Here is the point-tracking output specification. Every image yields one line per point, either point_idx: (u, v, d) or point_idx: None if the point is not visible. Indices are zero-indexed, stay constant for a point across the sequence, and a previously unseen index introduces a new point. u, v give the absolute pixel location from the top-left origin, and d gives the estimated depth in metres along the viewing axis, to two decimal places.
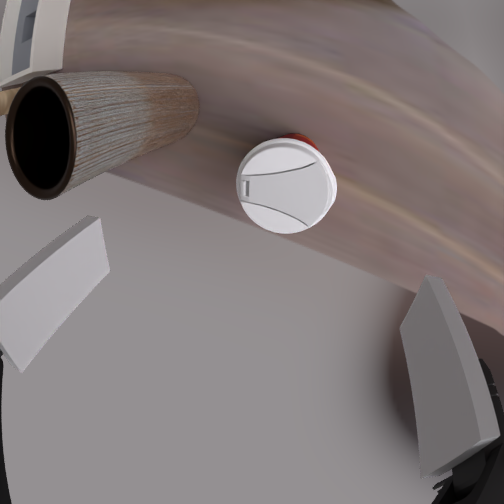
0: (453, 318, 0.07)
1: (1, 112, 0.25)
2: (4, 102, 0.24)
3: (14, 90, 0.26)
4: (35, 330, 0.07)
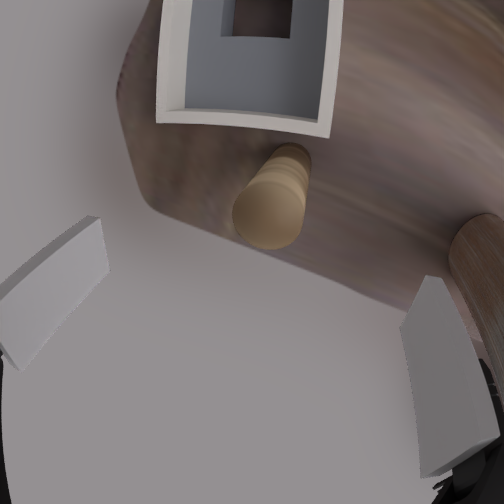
0: (453, 318, 0.07)
1: None
2: None
3: (299, 174, 0.19)
4: (35, 330, 0.07)
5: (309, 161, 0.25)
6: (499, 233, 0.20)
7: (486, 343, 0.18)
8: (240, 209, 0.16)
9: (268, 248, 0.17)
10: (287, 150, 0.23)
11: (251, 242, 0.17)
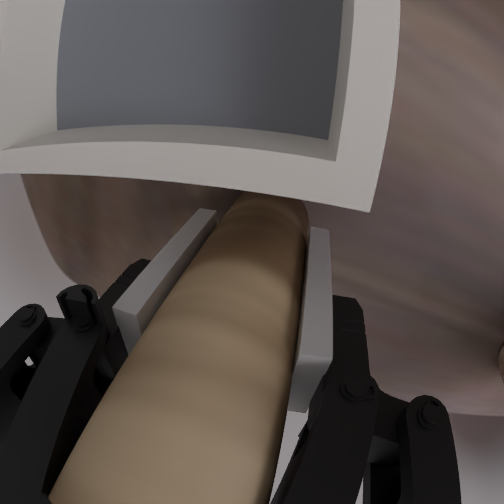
0: (319, 256, 0.09)
1: None
2: None
3: (265, 362, 0.05)
4: None
5: (304, 232, 0.12)
6: None
7: None
8: None
9: None
10: (251, 219, 0.10)
11: None
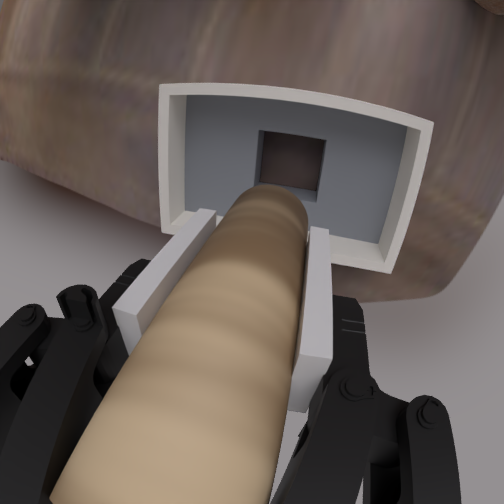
0: (319, 256, 0.09)
1: None
2: None
3: (264, 363, 0.05)
4: None
5: (304, 233, 0.12)
6: None
7: None
8: None
9: None
10: (251, 220, 0.10)
11: None
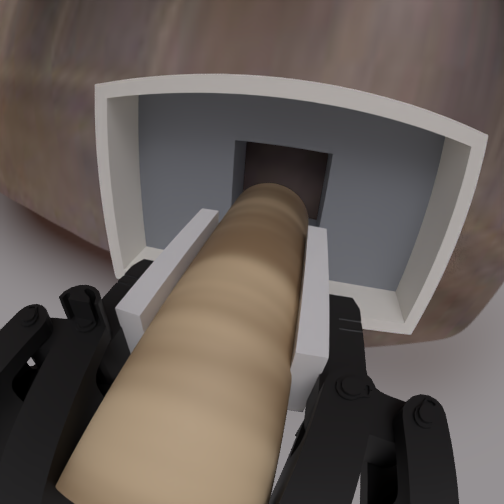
0: (316, 256, 0.09)
1: None
2: None
3: (267, 352, 0.06)
4: None
5: (304, 229, 0.12)
6: None
7: None
8: None
9: None
10: (253, 216, 0.10)
11: None
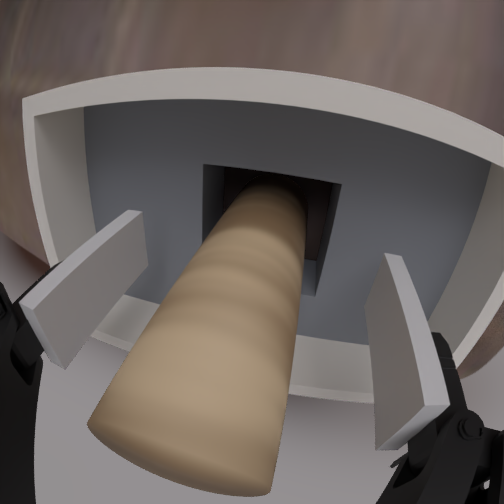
0: (406, 291, 0.08)
1: None
2: None
3: (276, 299, 0.07)
4: (80, 324, 0.08)
5: (304, 213, 0.14)
6: None
7: None
8: (106, 439, 0.04)
9: (195, 488, 0.05)
10: (259, 199, 0.12)
11: (157, 474, 0.05)
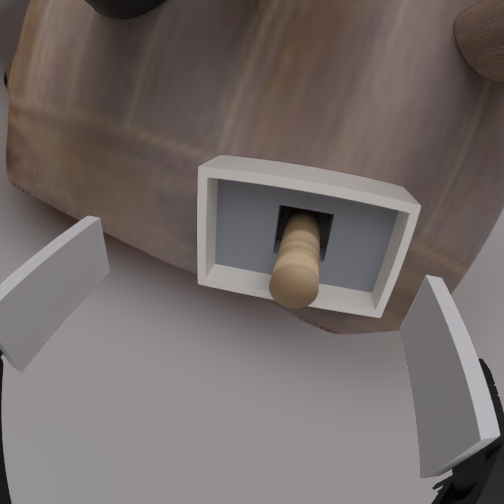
0: (453, 318, 0.07)
1: None
2: None
3: (314, 249, 0.26)
4: (35, 330, 0.07)
5: (318, 225, 0.32)
6: (475, 39, 0.15)
7: None
8: (275, 282, 0.23)
9: (293, 307, 0.24)
10: (302, 220, 0.30)
11: (281, 303, 0.24)
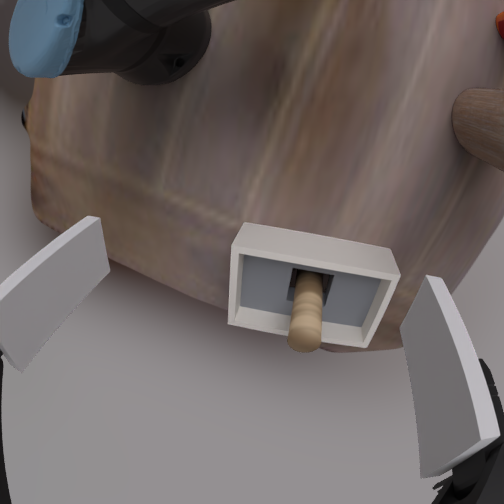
0: (453, 318, 0.07)
1: None
2: None
3: (318, 309, 0.35)
4: (35, 330, 0.07)
5: (322, 280, 0.41)
6: (468, 132, 0.24)
7: None
8: (291, 337, 0.32)
9: None
10: (310, 280, 0.39)
11: (295, 349, 0.33)
